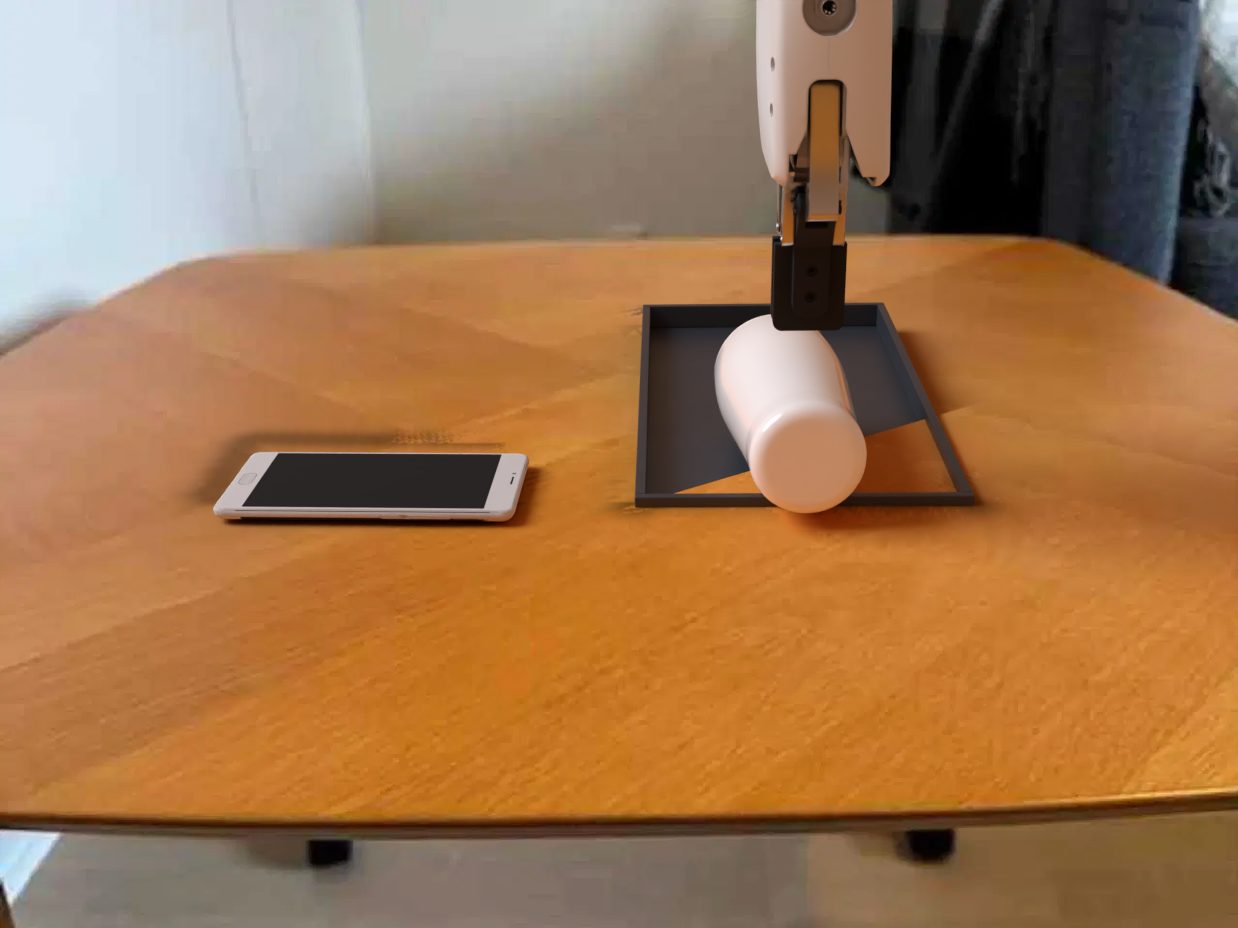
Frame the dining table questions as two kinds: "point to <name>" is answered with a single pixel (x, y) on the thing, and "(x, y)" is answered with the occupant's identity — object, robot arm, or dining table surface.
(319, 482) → the smartphone
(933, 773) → the dining table surface
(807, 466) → the drinking glass
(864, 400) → the tray
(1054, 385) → the dining table surface
